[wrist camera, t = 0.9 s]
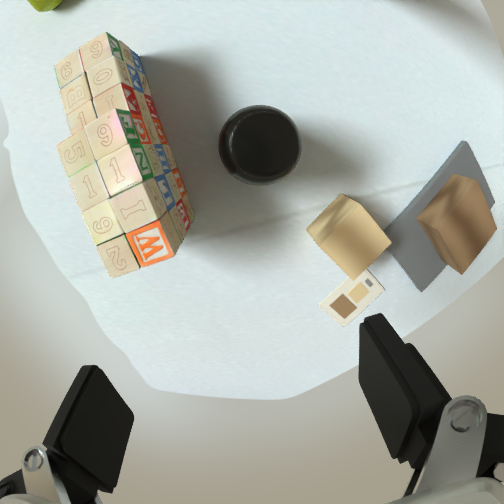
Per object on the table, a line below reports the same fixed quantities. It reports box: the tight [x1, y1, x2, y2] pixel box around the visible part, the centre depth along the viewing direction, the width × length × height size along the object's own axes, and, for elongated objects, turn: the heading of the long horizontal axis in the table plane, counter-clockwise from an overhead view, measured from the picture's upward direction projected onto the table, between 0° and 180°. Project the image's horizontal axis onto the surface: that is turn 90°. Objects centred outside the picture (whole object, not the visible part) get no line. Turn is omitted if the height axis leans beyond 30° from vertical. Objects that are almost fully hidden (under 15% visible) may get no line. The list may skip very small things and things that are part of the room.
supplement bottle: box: [218, 105, 302, 186], centre depth 24 cm, size 7×7×12 cm
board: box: [384, 141, 495, 292], centre depth 33 cm, size 20×12×1 cm, turn 137°
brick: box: [416, 174, 497, 274], centre depth 30 cm, size 9×9×5 cm
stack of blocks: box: [55, 32, 195, 278], centre depth 23 cm, size 21×6×12 cm, turn 18°
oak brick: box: [306, 194, 392, 281], centre depth 31 cm, size 6×6×6 cm
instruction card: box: [318, 269, 384, 327], centre depth 37 cm, size 8×6×1 cm
